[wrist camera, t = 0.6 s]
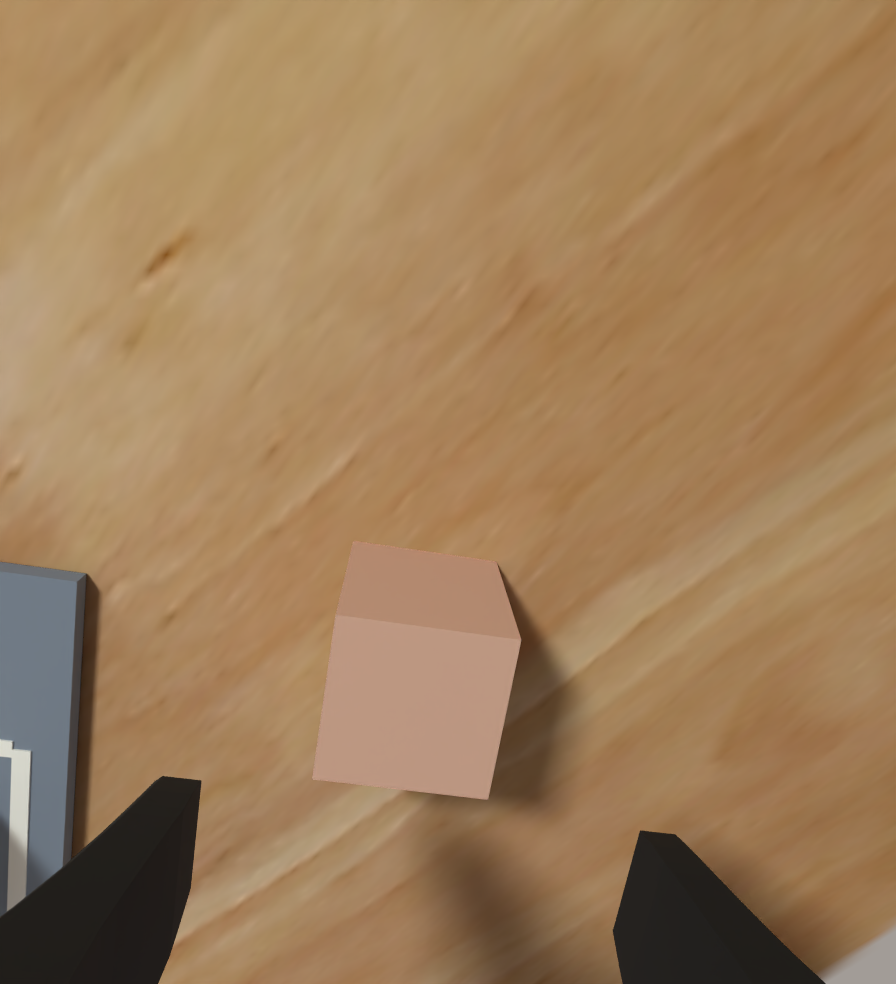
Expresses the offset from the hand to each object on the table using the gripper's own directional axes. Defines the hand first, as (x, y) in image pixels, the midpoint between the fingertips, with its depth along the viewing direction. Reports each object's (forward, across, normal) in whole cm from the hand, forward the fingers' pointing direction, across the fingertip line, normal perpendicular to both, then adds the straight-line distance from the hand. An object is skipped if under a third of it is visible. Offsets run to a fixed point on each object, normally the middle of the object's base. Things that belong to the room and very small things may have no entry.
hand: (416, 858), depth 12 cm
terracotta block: (+10, 0, 0) cm, 10 cm away
